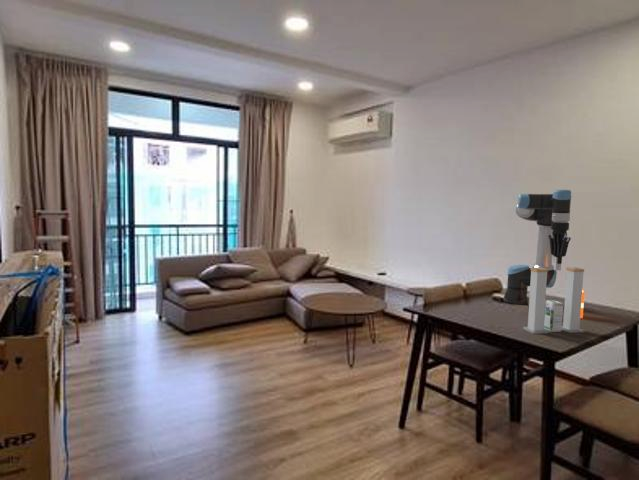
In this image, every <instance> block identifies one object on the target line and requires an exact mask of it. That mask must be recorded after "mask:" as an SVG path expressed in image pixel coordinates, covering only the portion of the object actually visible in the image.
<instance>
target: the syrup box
mask: <svg viewBox="0 0 639 480" xmlns="http://www.w3.org/2000/svg"><path fill="white" fill-rule="evenodd" d="M563 315H564V303H563V302H560V301H557V300H554V299H553V300H552V299H551V300H550V299H549V300H548V299H547V300H545V315H544V329H545V330H547V331H548V332H550V333H552V332H553V333H557V332H562V329H561V327H562V326H563Z"/></svg>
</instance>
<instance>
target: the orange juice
mask: <svg viewBox="0 0 639 480" xmlns="http://www.w3.org/2000/svg"><path fill="white" fill-rule="evenodd" d="M584 305H585V291H584V288H582V300H581V314H580V319H581V318H582V319H583V317H584V308H585V306H584Z"/></svg>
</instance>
